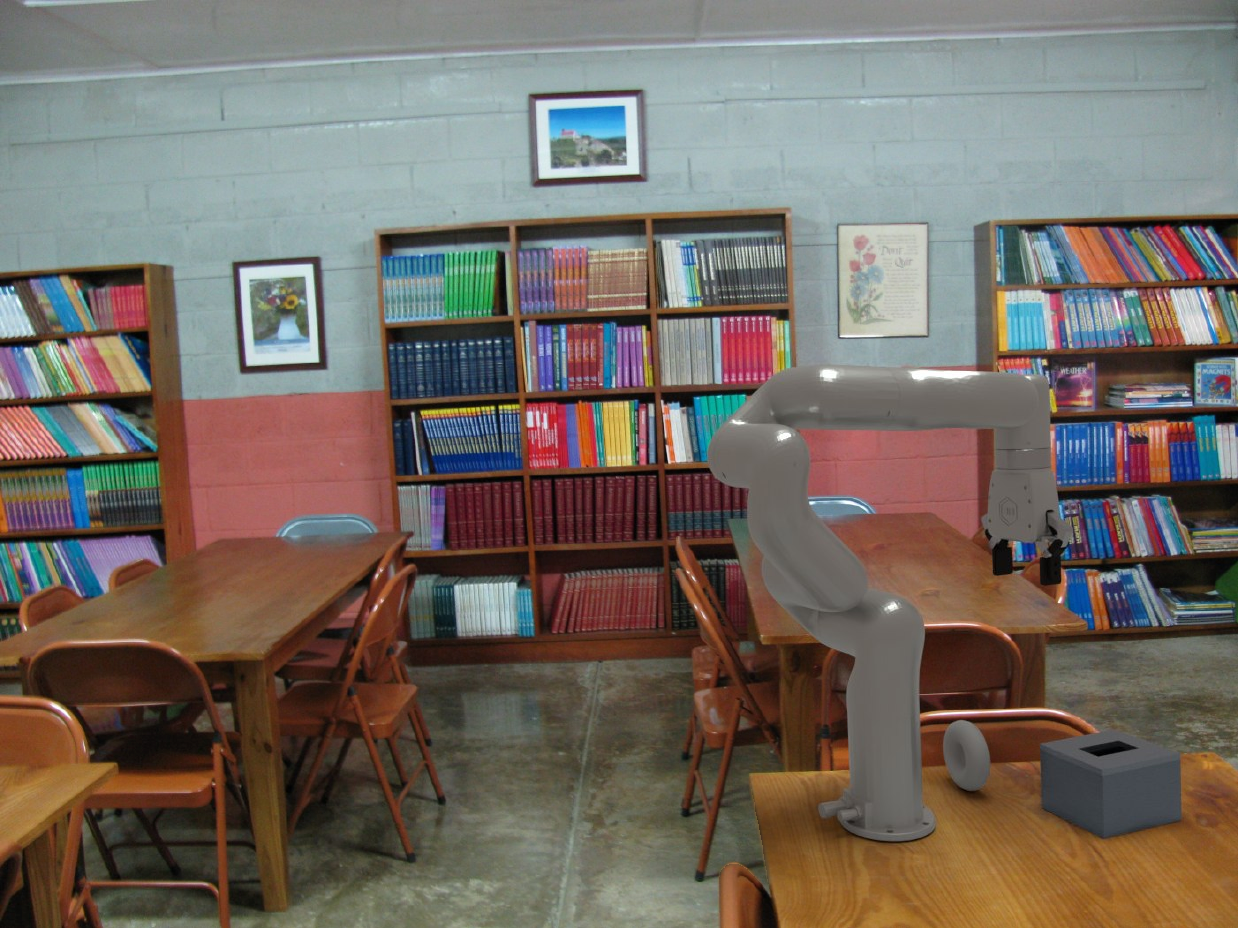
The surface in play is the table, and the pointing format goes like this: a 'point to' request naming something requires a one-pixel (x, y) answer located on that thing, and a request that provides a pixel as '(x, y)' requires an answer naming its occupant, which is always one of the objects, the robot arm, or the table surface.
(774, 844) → the table surface
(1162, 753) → the box
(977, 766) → the donut
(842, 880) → the table surface
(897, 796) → the robot arm
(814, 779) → the table surface
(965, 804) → the table surface
